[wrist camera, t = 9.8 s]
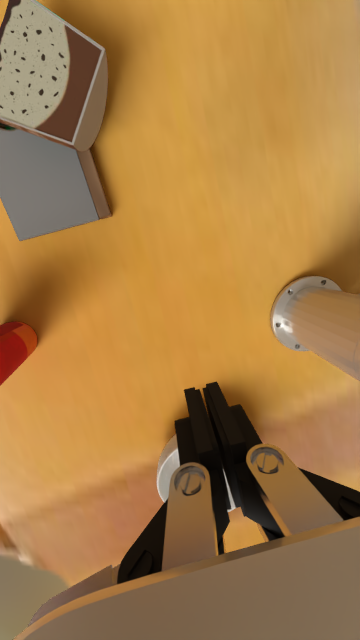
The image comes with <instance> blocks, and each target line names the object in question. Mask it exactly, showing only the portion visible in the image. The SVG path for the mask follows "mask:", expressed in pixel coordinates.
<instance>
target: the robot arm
mask: <svg viewBox="0 0 360 640" xmlns="http://www.w3.org/2000/svg"><path fill="white" fill-rule="evenodd" d="M288 291H289V292H288ZM270 321H271V328H272V331H273V333H274V335H275V337H276V338H277V339H278V340H279V341H280V343H282V344H283V345H285V346H286V347H288V348H290V349H292V350H295V351H312V352H314V353H315V354H317V355H318V356H320V357H322V358H323V359H325V360H326V361H328V362H330V363H331V364H333V365H334V366H336V367H338V368H339V369H341V370H342V371H344V372H346V373H347V374H349V375H350V376H352V377H354V378H355V379H357V380H358V381H360V294H352V293H348V292H343V291H342V290H341V289H340V287H339V286H338V285H337V284H336V283H335V282H333V281H332V280H330V279H328V278H325V277H320V276H306V277H302V278H299V279H297V280H295V281H293V282H291V283H290V284H289V285H287V286H286V287H285V288H284V289H283V290H282V291H281V292H280V294H279V295H278V296H277V298H276V300H275V302H274V304H273V307H272V310H271V318H270ZM276 323H277V324H276ZM184 392H185V397H186V402H187V406H188V411H189V416H190V417H187V418H184V419H180V420H176V421H175V429H176V437H177V446H178V454H179V462H180V467H178V468H177V469H176V470H175V471H174V473H173V474H172V476H171V479H170V485H169V496H168V499H167V500H166V501H165V503H164V504H163V505H162V507H161V508H160V509H159V511H158V512H157V513H156V515H155V516H154V517H153V519H152V520H151V521H150V523H149V524H148V525H147V527H146V528H145V529H144V531H143V532H142V533H141V535H140V536H139V537H138V539H137V540H136V541H135V543H134V544H133V545H132V547H131V548H130V549H129V551H128V552H127V553H126V555H125V557H124V558H123V560H122V562H121V564H119V565H117V566H116V567H114V568H113V567H112V565H110V566H108V567H106V568H104V569H102V570H101V571H99V572H97V573H95V574H94V575H92V576H90V577H88V578H86V579H85V580H83V581H81V582H79V583H77V584H76V585H74V586H72V587H70V588H69V589H67V590H65V591H63V592H61V593H60V594H58V595H56V596H54V597H52V598H51V599H49V600H48V601H47V602H46V603H44V604H43V605H42V606H41V607H40V608H39V610H38V611H37V612H36V613H35V614H34V616H33V618H32V619H31V622H30V623H29V625H28V627H27V628H26V629H25V630H24V631H22V632H21V633H20V634H19V635H17V636H16V637H15V638H14V639H13V640H360V492H359V491H357V490H354V489H351V488H349V487H346V486H344V485H341V484H339V483H336V482H334V481H331V480H328V479H326V478H323V477H321V476H318V475H316V474H313V473H311V472H308V471H305V470H303V469H300V468H298V467H297V466H296V465H295V464H294V463H293V462H292V460H291V459H290V458H289V457H288V456H287V455H286V454H285V452H283V451H282V450H281V449H280V448H278V447H276V446H274V445H271V444H263V443H262V442H261V440H260V438H259V436H258V434H257V433H256V431H255V429H254V427H253V426H252V424H251V422H250V420H249V419H248V417H247V415H246V413H245V411H244V410H243V408H242V406H241V405H240V404H239V405H235V406H231V407H229V406H228V404H227V402H226V400H225V398H224V396H223V394H222V391H221V389H220V387H219V385H218V383H217V382H213V383H209V384H206V388H203V393H204V397H205V402H206V407H207V411H208V414H207V411H206V408H205V405H204V402H203V398H202V395H201V392H200V389H197V390H195V387H193V388H189V389H185V390H184ZM208 416H209V417H208ZM224 473H225V475H224ZM225 476H226V479H227V482H228V485H229V488H230V492H231V495H232V498H233V501H234V504H235V507H236V508H237V507H241V509H242V512H243V515H244V517H245V516H247V517H248V518H250V519H251V520H253V521H255V522H256V523H257V525H258V528H259V531H260V533H261V534H262V536H263V538H264V540H265V543H261V544H257V545H254V546H250V547H247V548H243V549H239V550H236V551H232V552H229V553H226V549H225V540H224V536H223V534H224V532H225V530H226V528H227V526H228V524H229V522H230V520H229V515H228V511H227V510H230V509H232V508H231V504H230V499H229V494H228V489H227V485H226V480H225Z"/></svg>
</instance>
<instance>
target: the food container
mask: <svg viewBox="0 0 360 640" xmlns="http://www.w3.org/2000/svg"><path fill="white" fill-rule="evenodd" d="M107 89H108V66H107V56H106V51H105V48H104V47H102V46H101V45H99V44H98V43H96V42H95V41H93V40H92V39H91V38H89V37H88V36H86V35H85V34H83V33H82V32H81V31H79V30H78V29H76V28H75V27H73V26H72V25H71V24H69V23H68V22H66V21H65V20H63V19H62V18H60V17H59V16H58V15H56V14H55V13H53V12H52V11H50V10H49V9H48V8H46V7H45V6H43V5H42V4H40V3H39V2H37V1H36V0H9V2H8V6H7V9H6V13H5V16H4V19H3V22H2V24H1V27H0V130H2V131H7V132H10V131H16V130H18V129H19V130H22V131H25V132H28V133H30V134H33V135H36V136H39V137H41V138H44V139H47V140H50V141H52V142H55V143H58V144H61V145H63V146H66V147H69V148H72V149H74V150H77V151H80V152H84V151H86V150H88V149H89V148H90V147H91V146H92V144H93V143H94V141H95V139H96V137H97V135H98V133H99V130H100V127H101V124H102V121H103V116H104V112H105V107H106V100H107Z"/></svg>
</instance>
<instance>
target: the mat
mask: <svg viewBox="0 0 360 640" xmlns="http://www.w3.org/2000/svg"><path fill="white" fill-rule="evenodd" d="M0 198H1V200H2V203H3V205H4V207H5V209H6V212H7V214H8V216H9V218H10V221H11V223H12V225H13V228H14V230H15V232H16V234H17V237H18V239H19V241H22V240H26V239H30V238H33V237H37V236H41V235H44V234H48V233H52V232H56V231H59V230H63V229H67V228H70V227H74V226H78V225H82V224H85V223H89V222H93V221H96V220H100V219H99V216H98V213H97V210H96V207H95V205H94V202H93V199H92V196H91V193H90V190H89V187H88V184H87V181H86V178H85V175H84V172H83V169H82V166H81V163H80V160H79V157H78V154H77V151H76V150H74V149H72V148H69V147H66V146H63V145H61V144H58V143H55V142H52V141H50V140H47V139H44V138H41V137H39V136H36V135H33V134H30V133H28V132H25V131H22V130H19V129H18V130H16V131H10V132H7V131H2V130H0Z"/></svg>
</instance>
